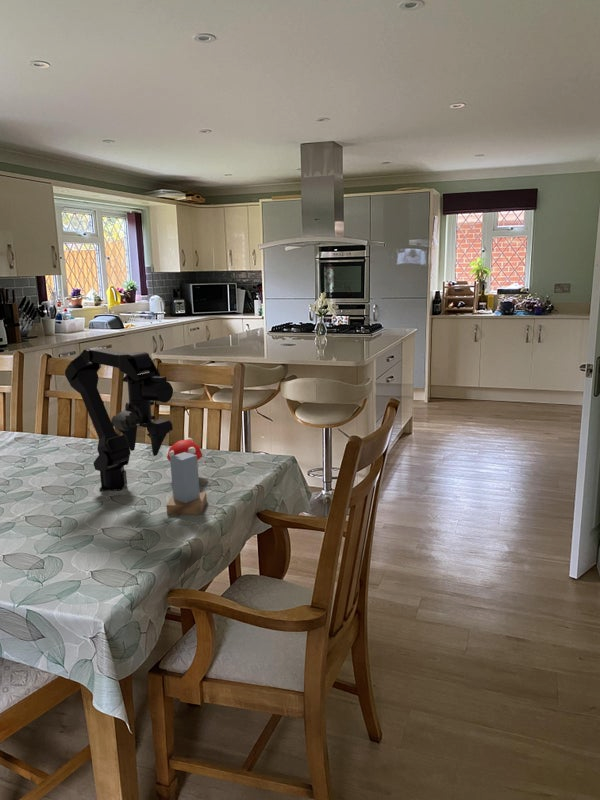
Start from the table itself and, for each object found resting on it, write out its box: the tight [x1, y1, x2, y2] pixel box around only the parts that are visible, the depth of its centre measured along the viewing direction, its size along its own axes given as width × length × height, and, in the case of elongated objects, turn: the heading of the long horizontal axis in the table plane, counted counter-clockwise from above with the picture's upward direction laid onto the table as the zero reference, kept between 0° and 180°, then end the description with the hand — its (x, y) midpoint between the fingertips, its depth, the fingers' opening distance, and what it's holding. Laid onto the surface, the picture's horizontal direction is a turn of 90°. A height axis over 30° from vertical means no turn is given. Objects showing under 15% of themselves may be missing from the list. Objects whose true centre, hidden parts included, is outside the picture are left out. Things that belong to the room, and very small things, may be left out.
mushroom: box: [166, 437, 203, 468], centre depth 184 cm, size 11×11×12 cm
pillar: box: [169, 452, 201, 503], centre depth 160 cm, size 5×5×12 cm
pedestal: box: [166, 491, 208, 515], centre depth 162 cm, size 9×9×3 cm
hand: (143, 453), depth 167 cm, fingers open, 9 cm apart
